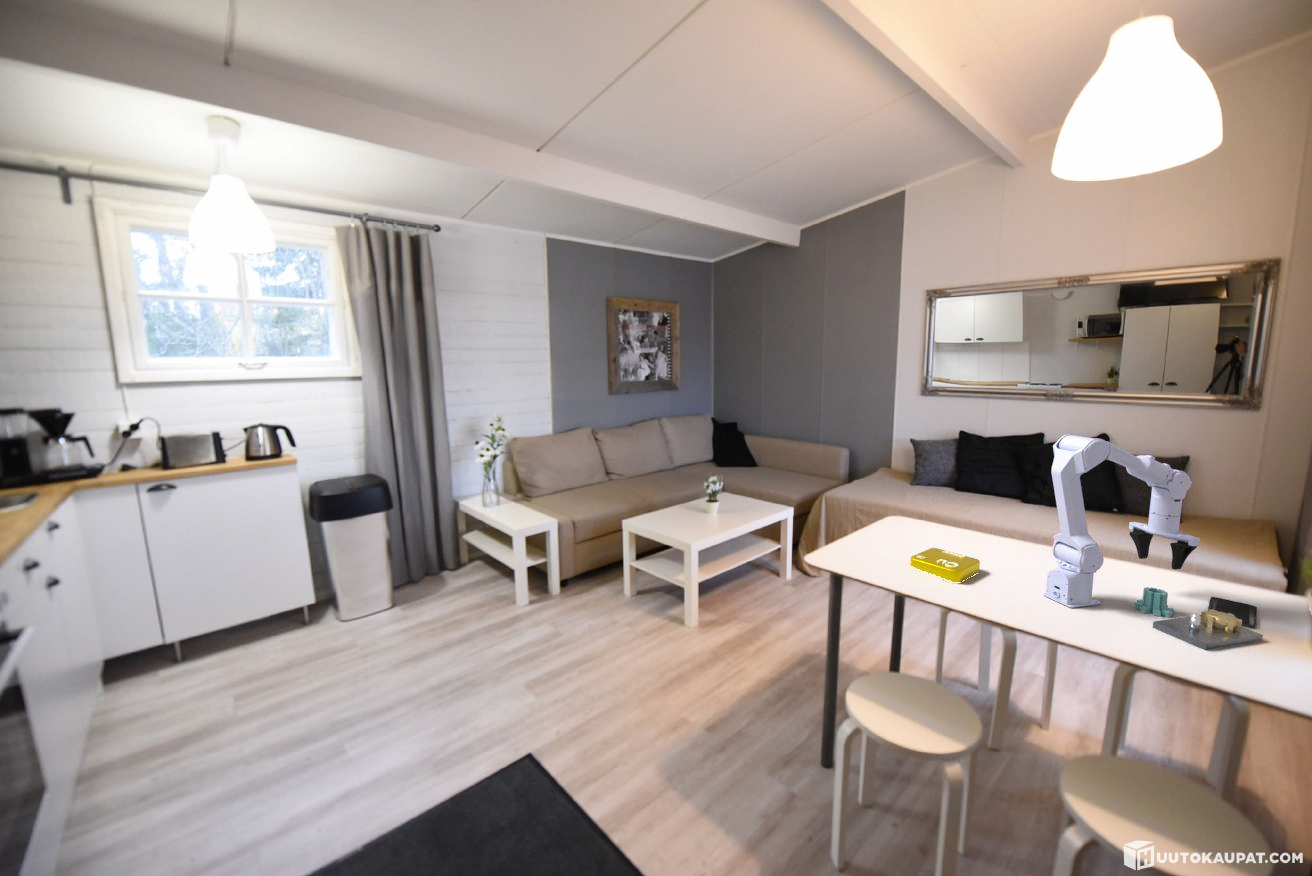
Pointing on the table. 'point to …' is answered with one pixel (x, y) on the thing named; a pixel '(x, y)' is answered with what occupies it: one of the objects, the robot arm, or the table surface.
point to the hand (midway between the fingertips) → (1159, 563)
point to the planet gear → (1154, 602)
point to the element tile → (946, 564)
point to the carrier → (1209, 630)
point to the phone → (1236, 610)
